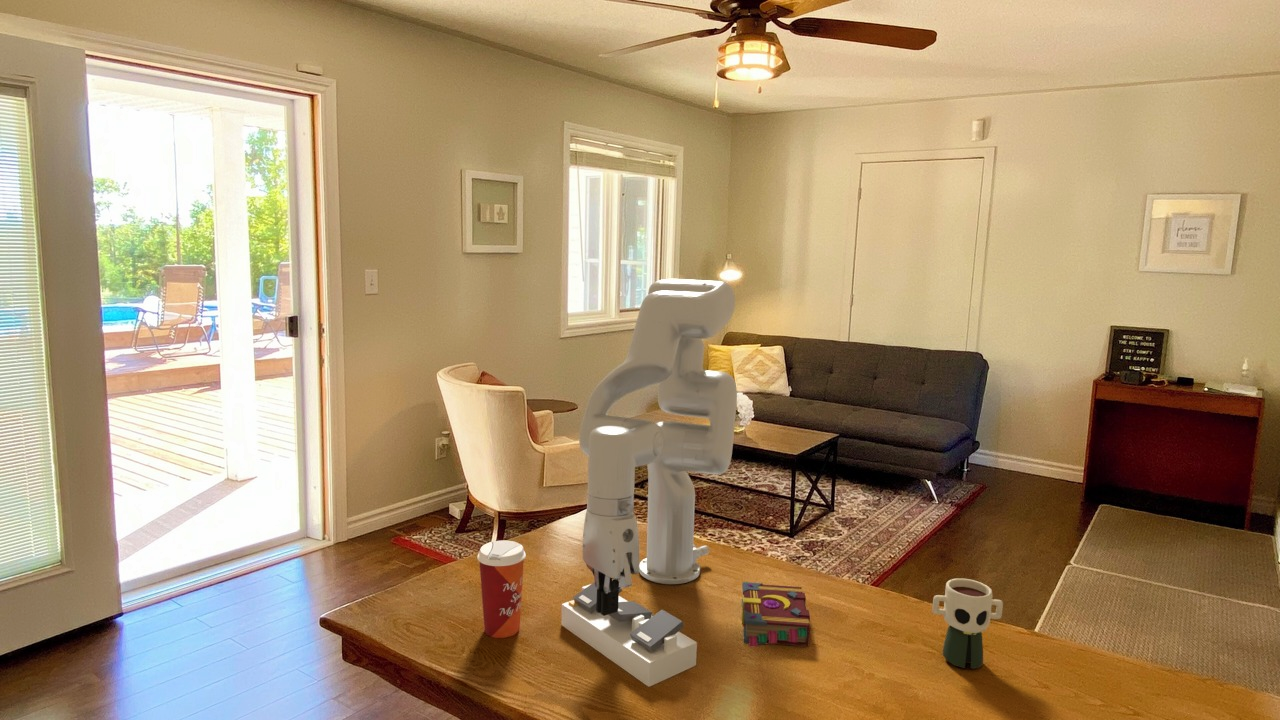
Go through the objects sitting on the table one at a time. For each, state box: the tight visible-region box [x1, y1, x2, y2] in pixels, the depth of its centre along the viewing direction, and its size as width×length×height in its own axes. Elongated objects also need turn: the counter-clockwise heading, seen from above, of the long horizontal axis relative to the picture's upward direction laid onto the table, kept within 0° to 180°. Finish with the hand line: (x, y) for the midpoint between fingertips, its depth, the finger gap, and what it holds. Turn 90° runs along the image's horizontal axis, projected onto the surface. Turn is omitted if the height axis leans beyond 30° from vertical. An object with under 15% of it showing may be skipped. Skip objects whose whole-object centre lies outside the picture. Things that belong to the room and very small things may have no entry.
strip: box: [560, 583, 698, 688], centre depth 133 cm, size 10×27×6 cm, turn 40°
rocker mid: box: [608, 600, 653, 622], centre depth 131 cm, size 7×5×2 cm
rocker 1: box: [572, 581, 623, 613], centre depth 137 cm, size 7×5×2 cm
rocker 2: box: [630, 609, 685, 653], centre depth 125 cm, size 7×5×2 cm
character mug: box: [931, 578, 1004, 669], centre depth 128 cm, size 11×7×13 cm, turn 83°
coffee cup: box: [476, 539, 527, 639], centre depth 135 cm, size 8×8×15 cm
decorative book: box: [741, 581, 811, 648], centre depth 139 cm, size 11×16×5 cm
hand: (607, 611), depth 128 cm, fingers closed
